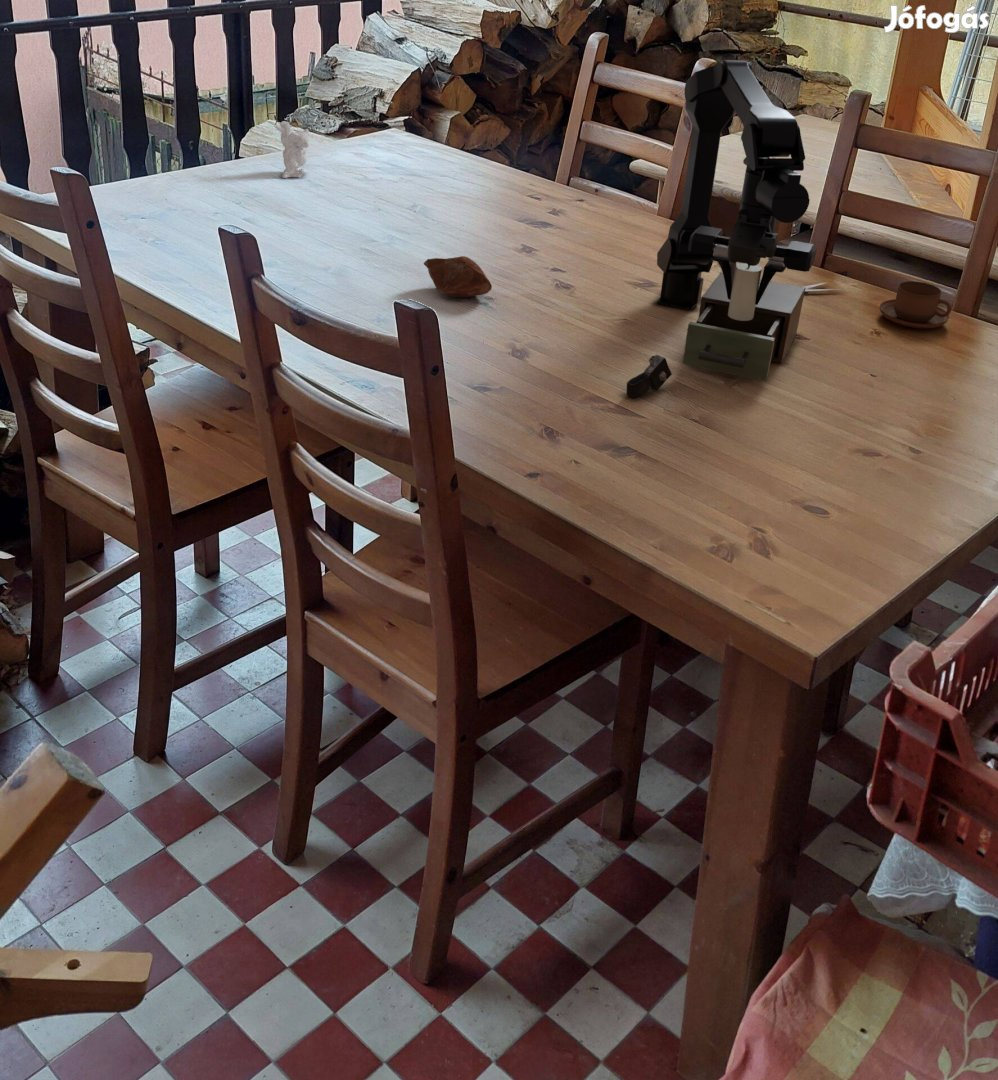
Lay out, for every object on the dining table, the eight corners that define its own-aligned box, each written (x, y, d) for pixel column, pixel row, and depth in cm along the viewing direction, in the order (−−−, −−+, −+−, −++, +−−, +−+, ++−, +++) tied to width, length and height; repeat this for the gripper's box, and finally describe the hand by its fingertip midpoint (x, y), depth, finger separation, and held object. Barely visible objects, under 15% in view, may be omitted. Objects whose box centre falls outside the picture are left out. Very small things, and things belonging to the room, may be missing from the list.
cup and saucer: (947, 315, 215) (955, 283, 211) (945, 338, 205) (954, 305, 202) (879, 305, 218) (887, 272, 214) (875, 327, 208) (883, 293, 205)
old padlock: (641, 412, 179) (631, 390, 175) (631, 407, 181) (622, 385, 177) (675, 375, 181) (666, 353, 177) (665, 371, 182) (656, 348, 178)
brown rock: (505, 285, 206) (474, 236, 202) (470, 314, 204) (438, 265, 200) (474, 288, 217) (445, 242, 213) (441, 315, 215) (410, 269, 211)
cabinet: (781, 363, 192) (791, 313, 187) (694, 346, 196) (701, 296, 192) (796, 335, 203) (805, 287, 198) (713, 319, 207) (720, 272, 203)
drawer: (759, 392, 180) (767, 351, 176) (674, 375, 184) (680, 334, 180) (781, 353, 193) (788, 314, 190) (701, 337, 197) (707, 298, 194)
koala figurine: (282, 181, 266) (280, 126, 259) (270, 173, 270) (267, 119, 264) (316, 177, 270) (315, 123, 263) (304, 169, 274) (302, 116, 268)
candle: (725, 317, 186) (734, 263, 181) (730, 309, 189) (739, 256, 184) (750, 322, 184) (759, 268, 180) (755, 314, 188) (765, 260, 183)
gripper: (686, 206, 174) (672, 306, 182) (813, 226, 168) (793, 329, 176) (704, 188, 182) (690, 284, 191) (825, 207, 177) (805, 306, 185)
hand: (743, 301), depth 186 cm, fingers closed on candle, 4 cm apart
